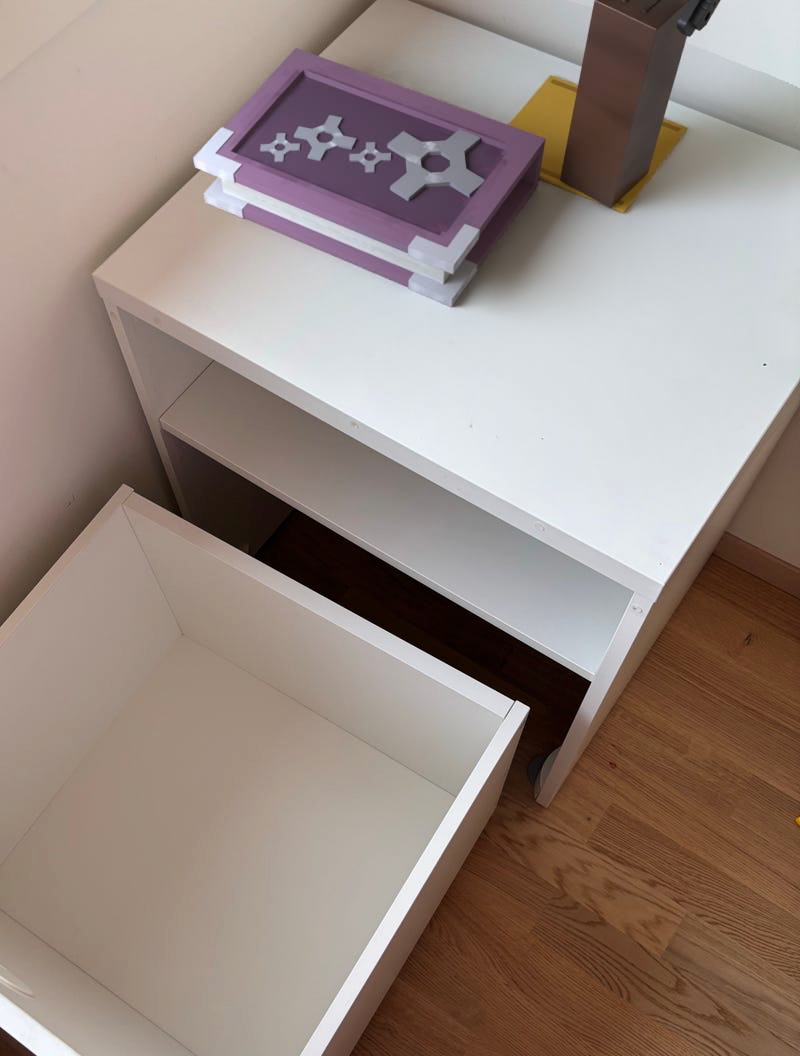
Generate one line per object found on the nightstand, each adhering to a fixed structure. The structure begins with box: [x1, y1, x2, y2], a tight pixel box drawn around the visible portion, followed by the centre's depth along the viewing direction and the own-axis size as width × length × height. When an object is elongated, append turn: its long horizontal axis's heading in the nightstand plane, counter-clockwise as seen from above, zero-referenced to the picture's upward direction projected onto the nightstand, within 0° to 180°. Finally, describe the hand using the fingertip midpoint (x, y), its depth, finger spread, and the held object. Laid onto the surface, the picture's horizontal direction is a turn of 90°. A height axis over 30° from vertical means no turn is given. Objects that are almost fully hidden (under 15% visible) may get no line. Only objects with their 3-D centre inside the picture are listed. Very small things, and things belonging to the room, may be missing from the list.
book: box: [192, 47, 546, 308], centre depth 87 cm, size 25×16×5 cm, turn 58°
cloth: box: [508, 74, 688, 214], centre depth 90 cm, size 14×12×1 cm
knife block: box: [560, 0, 689, 209], centre depth 81 cm, size 6×6×16 cm
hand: (633, 8), depth 73 cm, fingers open, 8 cm apart
